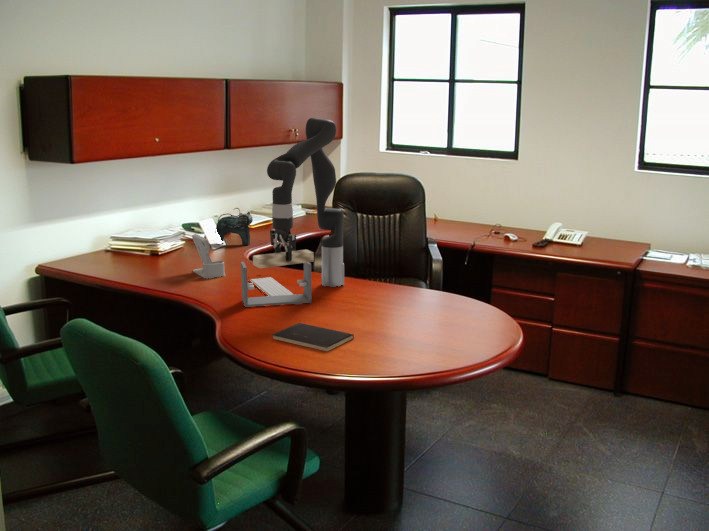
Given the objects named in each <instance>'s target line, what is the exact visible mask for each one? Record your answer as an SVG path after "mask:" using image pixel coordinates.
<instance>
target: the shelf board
mask: <svg viewBox="0 0 709 531" xmlns="http://www.w3.org/2000/svg"><path fill="white" fill-rule="evenodd" d="M314 254H315V252H314V251H312V250H309V249H306V248H305V249H299V250H297V249H296V250H293V251H292V261H289V262H287V261H286V251H281V252H280V253H275V252H273V253H265V254H255V255H252V262H253V263H252V265H253V266H255V268H258V269H264V268H273V267H274V268H275V267H281V266H282V267H283V266H287V265H288V266H290V265H297V264H304V263H306V262H310V263H313V262H314V261H315V260H314V258H315V257H314V256H315V255H314Z"/></svg>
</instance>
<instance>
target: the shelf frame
mask: <svg viewBox="0 0 709 531" xmlns="http://www.w3.org/2000/svg"><path fill="white" fill-rule="evenodd" d="M247 267H248V266H247V265H246V263H245V261H241V262H240V276H241V277H240V278H241V280H240V281H241V301H243V302H242V304H243V303H244V304H243V306H245V307H250V306H251V308H253V307H252V306H264V305H280V306H282V305H281V304H295V305H302V304H301V303H310V304H312V303H313V302H312V301H313V300H312V298H313V297H312V262H306V263H303V279H297V281H296V283H297V285H299V288H301V287H302V288H303V293H301V294H300V293H298V294H294V295H281V296H265V295H264V296H253V297H252V296H251V297H249V294H248V292H249V291H252V290H255V289H256V288H255V287H254V285H253V283H249V282H248V268H247ZM245 307H244V308H245Z"/></svg>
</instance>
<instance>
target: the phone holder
mask: <svg viewBox="0 0 709 531" xmlns="http://www.w3.org/2000/svg"><path fill="white" fill-rule="evenodd" d="M191 238H192V241H193V242H194V245H195V247H196V249H197V252H198V255H199V257H200V259H201V262H202V267H201V268H196V269H192V270H193V271H192V272H193V273H195V274H196V275H198V276H200V277H202V278H203V279H205V278H206V280H208V278H209V279H215V278H214V277H217V278H222V277H221V276H224V277H226V273H225V261H222V260H215V261H212V259H211V256H210V254H209V253H210V250H211V245H210V243H209V241H208V240H207V239H206V238H205V237H203V236H201V235H199V234H197V233H194V234H192V235H191Z"/></svg>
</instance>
